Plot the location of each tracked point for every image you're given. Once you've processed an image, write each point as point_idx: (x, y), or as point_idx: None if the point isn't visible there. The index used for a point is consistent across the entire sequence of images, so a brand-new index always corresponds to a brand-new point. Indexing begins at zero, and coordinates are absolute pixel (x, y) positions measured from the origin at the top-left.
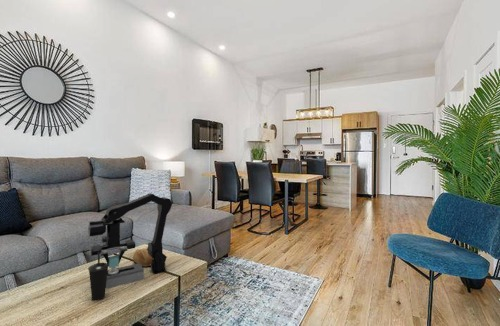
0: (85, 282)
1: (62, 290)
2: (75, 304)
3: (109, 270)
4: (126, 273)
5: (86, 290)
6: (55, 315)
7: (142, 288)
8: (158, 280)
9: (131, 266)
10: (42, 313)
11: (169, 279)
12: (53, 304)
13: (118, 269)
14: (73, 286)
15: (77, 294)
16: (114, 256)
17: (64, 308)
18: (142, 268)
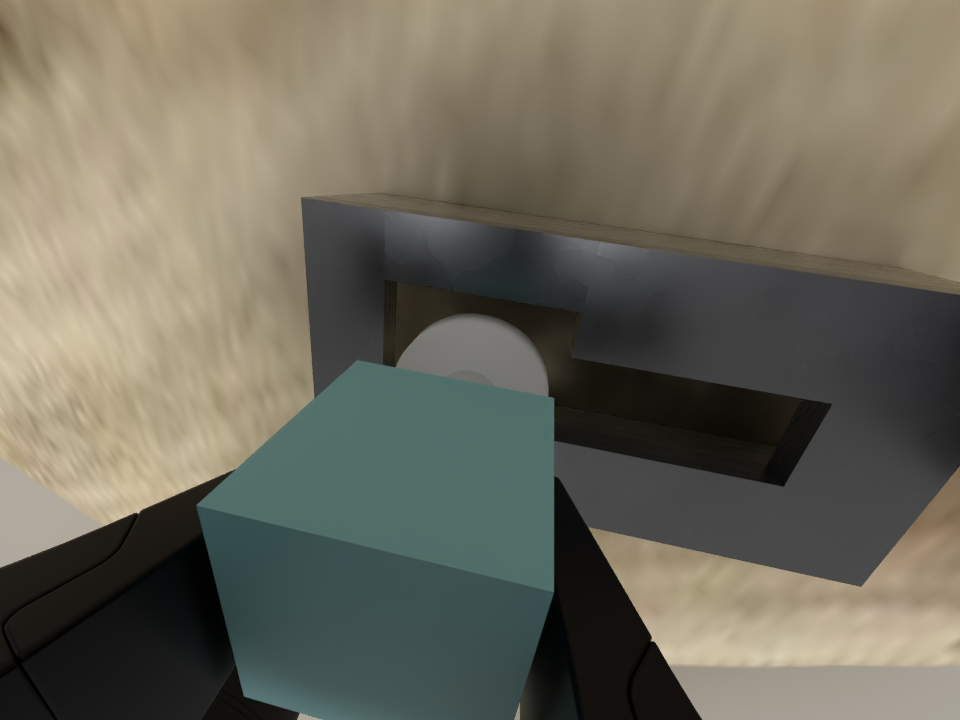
0: (220, 73)
1: (33, 137)
2: (205, 471)
3: (418, 339)
4: (606, 529)
5: (251, 311)
6: (126, 505)
7: (653, 597)
8: (859, 589)
9: (822, 361)
10: (46, 437)
11: (947, 640)
12: (65, 371)
13: (582, 311)
14: (112, 104)
15: (190, 335)
16: (412, 612)
17: (152, 470)
18: (878, 553)
